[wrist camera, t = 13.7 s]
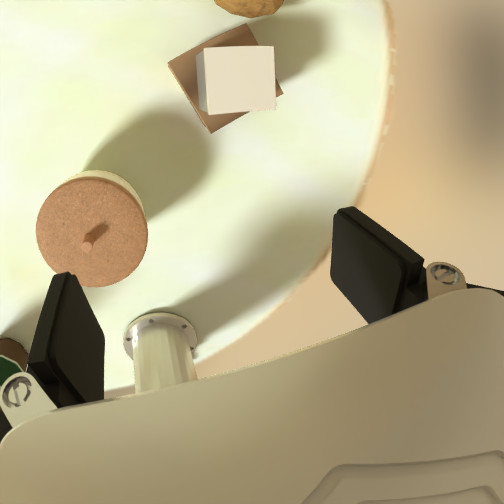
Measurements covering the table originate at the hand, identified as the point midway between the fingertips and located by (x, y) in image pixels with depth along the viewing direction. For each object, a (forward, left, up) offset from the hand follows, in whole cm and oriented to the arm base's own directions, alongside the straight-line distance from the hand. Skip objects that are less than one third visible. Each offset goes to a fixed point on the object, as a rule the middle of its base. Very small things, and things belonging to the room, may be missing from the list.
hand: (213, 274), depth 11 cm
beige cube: (+6, -7, -25) cm, 27 cm away
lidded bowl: (-7, +10, -31) cm, 33 cm away
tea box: (+6, -7, -31) cm, 32 cm away
